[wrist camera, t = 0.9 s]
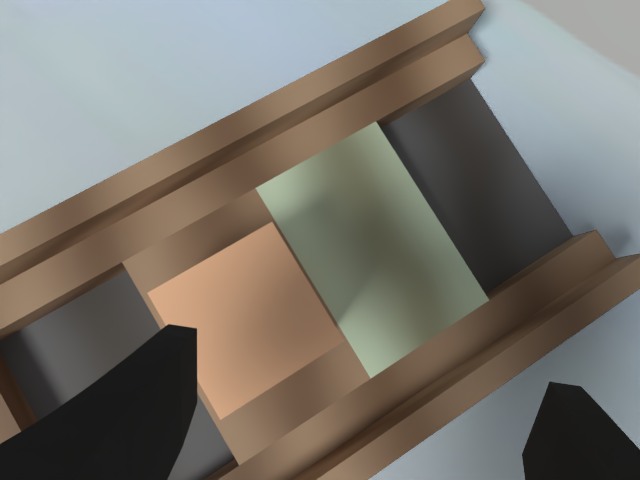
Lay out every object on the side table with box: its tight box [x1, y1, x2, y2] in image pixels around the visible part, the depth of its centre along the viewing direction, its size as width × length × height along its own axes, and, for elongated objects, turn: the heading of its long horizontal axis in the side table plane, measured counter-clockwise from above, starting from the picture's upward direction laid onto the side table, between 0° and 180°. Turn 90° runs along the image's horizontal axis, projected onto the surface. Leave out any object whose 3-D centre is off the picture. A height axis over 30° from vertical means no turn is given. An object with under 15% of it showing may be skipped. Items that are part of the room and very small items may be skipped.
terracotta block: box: [147, 222, 344, 420], centre depth 20 cm, size 4×4×4 cm
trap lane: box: [0, 0, 640, 480], centre depth 22 cm, size 25×14×4 cm, turn 121°
